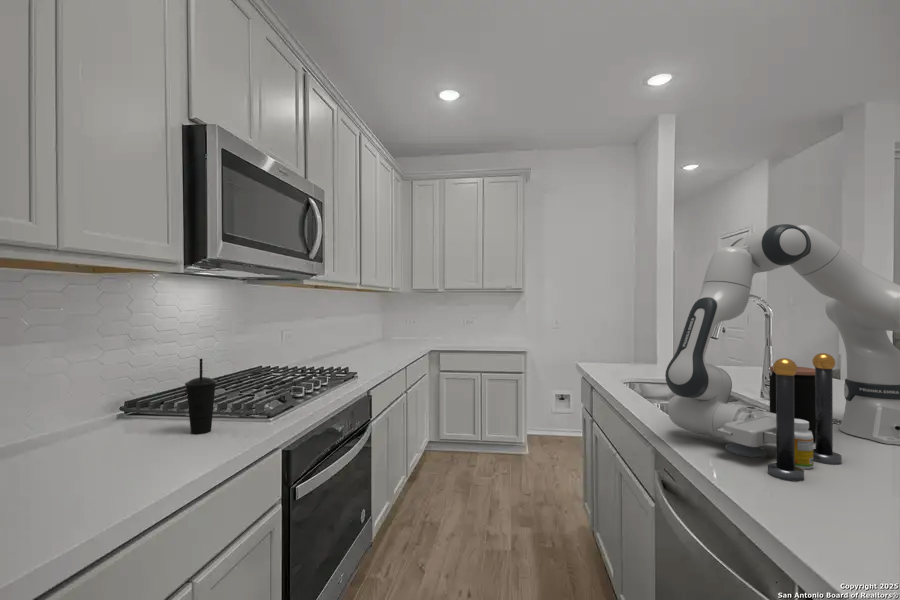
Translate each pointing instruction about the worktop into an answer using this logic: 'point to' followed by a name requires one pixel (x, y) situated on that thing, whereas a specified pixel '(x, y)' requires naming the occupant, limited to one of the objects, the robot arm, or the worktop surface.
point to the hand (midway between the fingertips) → (802, 438)
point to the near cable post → (785, 423)
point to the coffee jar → (799, 395)
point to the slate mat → (746, 450)
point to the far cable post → (824, 411)
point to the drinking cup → (200, 403)
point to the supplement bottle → (803, 444)
